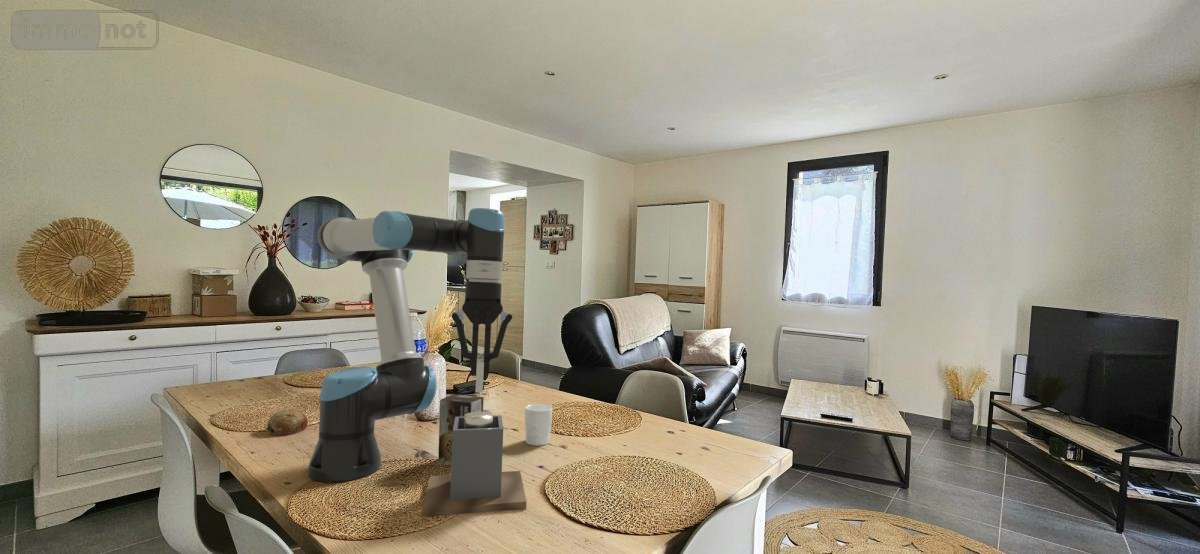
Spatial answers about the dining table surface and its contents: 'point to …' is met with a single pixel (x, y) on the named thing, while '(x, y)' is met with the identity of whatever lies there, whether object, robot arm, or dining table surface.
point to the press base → (441, 505)
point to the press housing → (476, 461)
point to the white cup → (538, 424)
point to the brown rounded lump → (287, 422)
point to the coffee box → (448, 412)
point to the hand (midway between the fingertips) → (479, 390)
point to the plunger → (478, 420)
